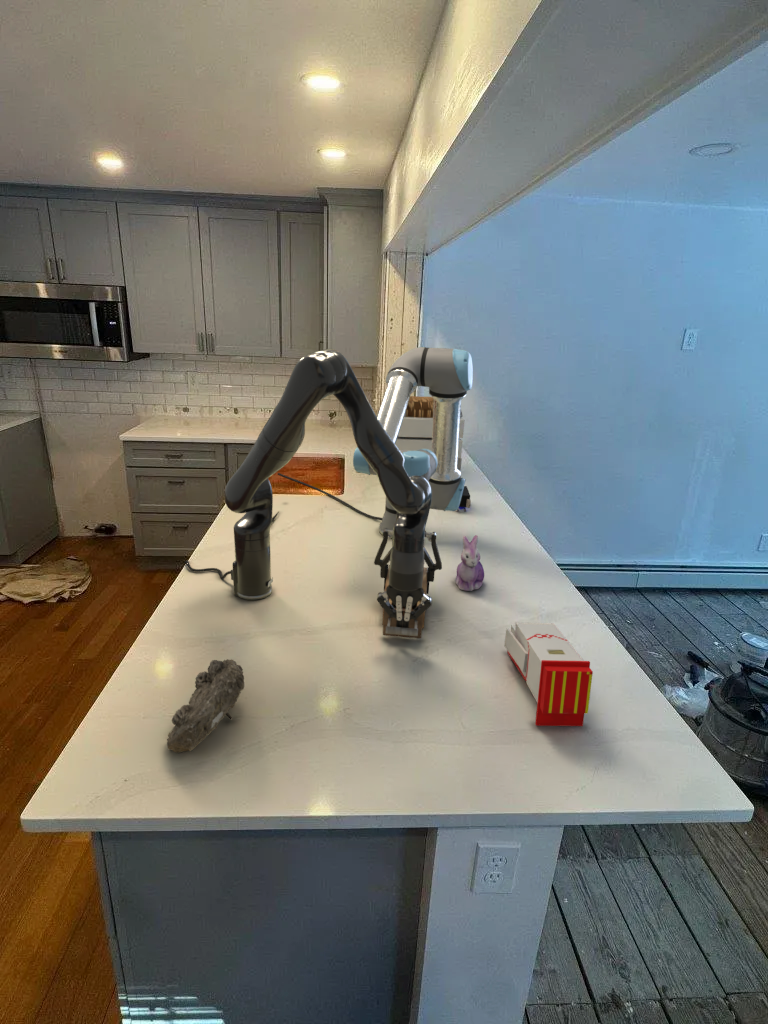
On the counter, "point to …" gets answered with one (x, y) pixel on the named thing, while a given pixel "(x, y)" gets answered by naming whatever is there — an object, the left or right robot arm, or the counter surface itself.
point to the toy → (551, 672)
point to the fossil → (206, 705)
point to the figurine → (470, 566)
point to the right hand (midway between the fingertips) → (406, 590)
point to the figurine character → (465, 499)
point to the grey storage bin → (422, 427)
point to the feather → (274, 517)
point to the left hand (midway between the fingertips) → (402, 632)
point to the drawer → (411, 631)
